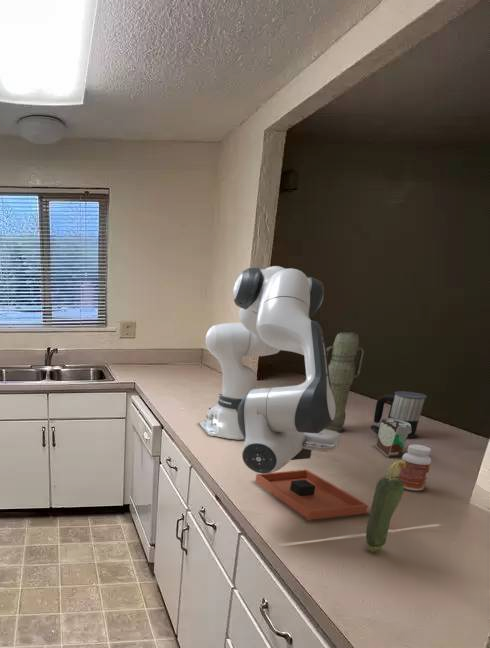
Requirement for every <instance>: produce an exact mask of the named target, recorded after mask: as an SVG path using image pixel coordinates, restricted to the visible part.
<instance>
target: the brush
mask: <svg viewBox="0 0 490 648" xmlns="http://www.w3.org/2000/svg"><path fill="white" fill-rule="evenodd" d="M312 451H313V450H309V449H304V448H302V450H301V451H300V452H299V453H298V454H297V455H296V456H294V457H293V458H292V459H291V460H290V461H296V460H307V459H308V460H309V459H311V455H312Z"/></svg>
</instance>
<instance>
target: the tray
mask: <svg viewBox="0 0 490 648" xmlns="http://www.w3.org/2000/svg"><path fill="white" fill-rule="evenodd" d="M296 480H306V481H308V482H310V483H311V484H313V485H315V491H314V495H307V496H299V495H297V494H296V493H294V492H293V491H291V490H290V487H291V481H296ZM255 482H256V483H258V484H259V485H260V486H262V488H264V489H265V490H267V491H268V492H269V493H271V494H273V495H274V496H275V497H276V498H277V499H279V500H281V501H282V502H283V503H285V504H286V505H288V506H289V507H290V508H291V509H293V510H294V511H295V512H297V513H299V514H300V515H301V516H302V517H304V519H306V520H308V521H312V520H319V519H328V518H336V517H345V516H353V515H363V514H367V513H368V509H369V507H370V506H369V504H367V503H366V502H364V501H363V500H361V499H360V498H359V499H358V498H357V497H355V496H354V495H351V494H350V493H349V492H347V491H345V490H343V489H341V488H339V487H338V486H336V485H334V484H333V483H332V482H329V481H327V480H325V479H324V478H322V477H320V476H319V475H317V474H315V473H314V472H312V471H311V470H308V469H298V470H287V471H286V470H285V471H275V472H272V473H268V474H261V473H256V475H255Z"/></svg>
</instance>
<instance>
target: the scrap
mask: <svg viewBox="0 0 490 648" xmlns="http://www.w3.org/2000/svg"><path fill="white" fill-rule="evenodd" d="M290 490H291V491H293V492H294V493H296V494H297V495H299V496H307V495H314V491H315V485H313V484H311V483H310V482H308V481H306V480H296V481H291V487H290Z"/></svg>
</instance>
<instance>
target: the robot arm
mask: <svg viewBox="0 0 490 648" xmlns="http://www.w3.org/2000/svg"><path fill="white" fill-rule="evenodd" d="M232 291H233V292H232V293H233V302H234V303H235V306H237V307H238V308H240V309H239V313H238V318H239V320H240V322H224V323H219V324H213V325H212V326H211V327H209V329H208V331H207V332H206V334H205V338H204V341H205V346H206V350H208V352H209V353H210V354H211V355H212V356H213V357H215V358H216V360H217V361H218V363H219V365H220V367H221V371H222V372H221V373H222V386H221V387H222V388H221V389H222V390H221V393H219V394H218V400H217V404H215V405H214V406H212V407H209V408H208V410H207V413H206V415H205V419H203V420H201V421H199V425H200V426H201V428H203V430H204V431H205V432H206V433H207V434H208V436H211V437H218V438H223V439H228V440H237V441H239V440H240V441H241V440H244V444H243V446H242V450H241V457H242V458H241V459H242V461H243V463H244V465H245V466H246V467H247V468H248V469H250V470H251V471H253V472H254V473H256V474H268V473H275V472H278V471H279V470H281V469H282V468H283V467H285V466H286V465H287V464H288V463H289V462H290V461H292V460H291V459H292V458H293V457H294V456H296V455H297V454H298V453H299V452H300V451H301V450H302V448H304V449H309V450H312V451H314V452H320V453H329V452H332V451H333V450H335V449H337V448H338V447H339V443H340V439H341V433H340V432H336V431H331V430H326V429H325V428H327V427H328V426H329V425H330V424H331V423H332V422H333V421H334V417H335V412H336V407H335V401H334V397H333V394H332V391H331V384H330V376H329V368H328V365H329V361H328V359H329V358H328V357H327V352H326V349H327V346H326V340H325V335H324V331H323V329H322V326H321V325H320V323H319V322H318V321H315V320H312V319H311V317H314V316H315V314H317V312H318V310H319V308H321V305H322V304H323V300H324V296H325V295H324V293H325V287H324V284H323V282H322V281H321V280H319V279H318V278H315V277H312V276H309V277H308V276H307V274H306V273H304V272H303V271H302V270H299V269H297V268H292V267H291V268H285V267H283V266H279V265H272V266H269V267H266V268H264V269H263V268H262V269H261V268H260V267H248V268H246V269H244V270H243V271H241V273H240V275H239V276H238V277H237V279H236V281H235V283H234V286H233V290H232ZM281 351H284V352H290V353H291V352H292V353H296V354H299V355H302V356H304V367H305V381H303V382H302V383H300V384H297V385H296V384H295V385H287V386H276V387H274V386H272V387H271V386H270V387H262V388H261V387H260V388H257V383H258V374H257V373H256V371H255V370H254V369H252V368H251V367H249V366H247V365H245V364H244V363H243V357H266V356H271V355H276V354H278V353H280V352H281Z"/></svg>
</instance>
